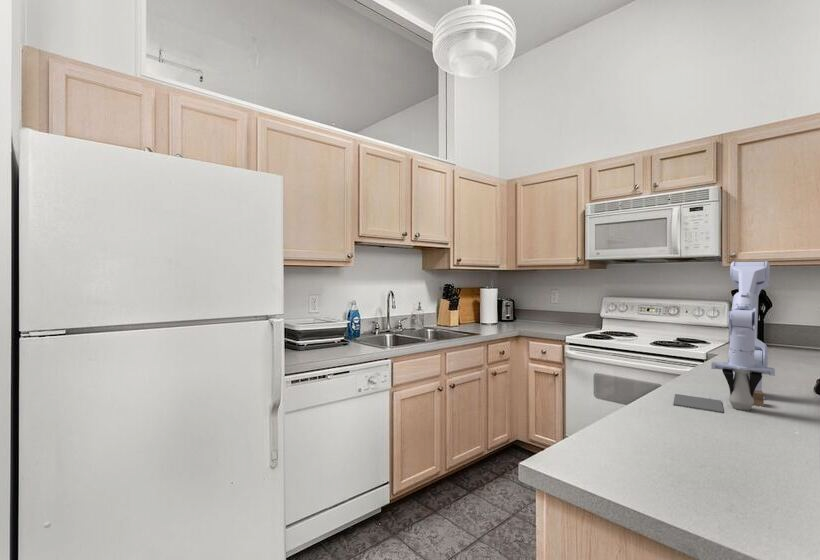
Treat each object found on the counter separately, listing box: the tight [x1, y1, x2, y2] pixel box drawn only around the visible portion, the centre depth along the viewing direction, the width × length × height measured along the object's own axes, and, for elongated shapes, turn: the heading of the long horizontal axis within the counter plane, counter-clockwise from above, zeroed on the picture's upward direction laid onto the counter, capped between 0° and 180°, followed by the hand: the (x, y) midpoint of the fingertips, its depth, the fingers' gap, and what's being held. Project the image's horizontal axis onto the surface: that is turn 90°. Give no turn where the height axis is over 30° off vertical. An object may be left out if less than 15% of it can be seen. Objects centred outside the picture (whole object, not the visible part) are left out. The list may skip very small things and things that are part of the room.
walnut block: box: [752, 390, 765, 408], centre depth 125 cm, size 4×4×4 cm
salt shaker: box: [728, 368, 754, 412], centre depth 120 cm, size 6×6×13 cm
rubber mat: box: [672, 393, 724, 414], centre depth 125 cm, size 13×12×1 cm
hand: (741, 396), depth 120 cm, fingers closed on salt shaker, 4 cm apart
